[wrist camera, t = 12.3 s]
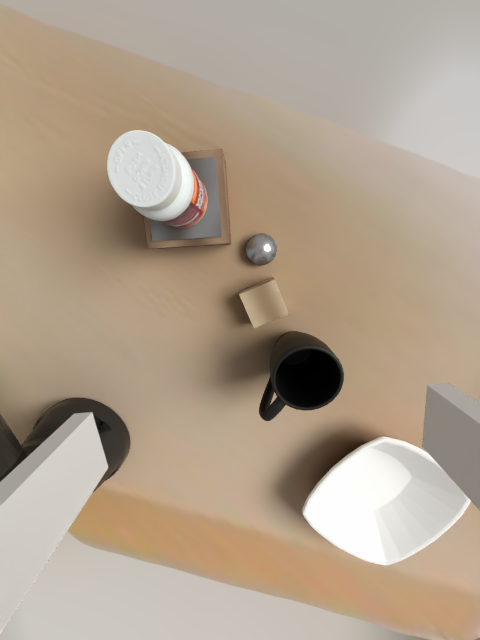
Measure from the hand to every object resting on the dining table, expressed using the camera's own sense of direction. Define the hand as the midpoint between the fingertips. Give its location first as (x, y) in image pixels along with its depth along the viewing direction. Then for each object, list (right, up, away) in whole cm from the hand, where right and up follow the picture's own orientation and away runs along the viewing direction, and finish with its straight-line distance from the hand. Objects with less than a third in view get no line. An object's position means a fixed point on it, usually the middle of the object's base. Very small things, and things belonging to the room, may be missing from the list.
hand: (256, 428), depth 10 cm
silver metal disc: (+2, +14, +25) cm, 28 cm away
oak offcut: (+3, +7, +26) cm, 27 cm away
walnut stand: (-7, +19, +24) cm, 31 cm away
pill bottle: (-7, +18, +20) cm, 28 cm away
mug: (+6, -1, +29) cm, 29 cm away
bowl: (+22, -23, +34) cm, 46 cm away
